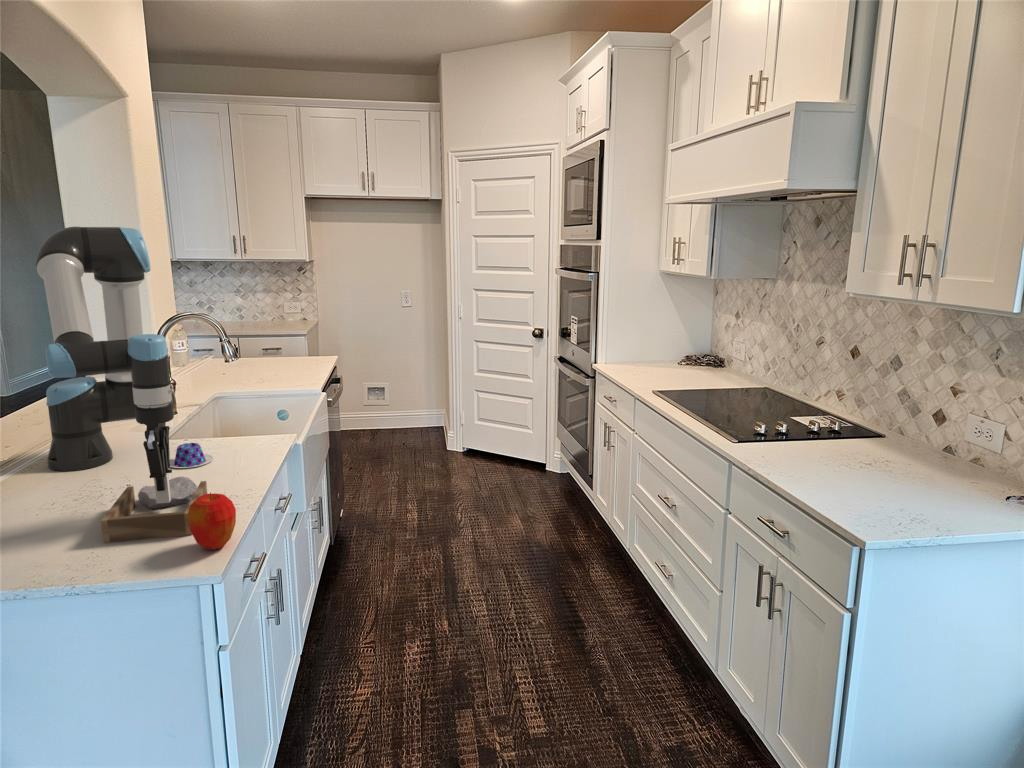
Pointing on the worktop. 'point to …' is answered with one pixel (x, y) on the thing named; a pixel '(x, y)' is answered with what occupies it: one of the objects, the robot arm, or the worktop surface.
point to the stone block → (179, 492)
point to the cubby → (144, 520)
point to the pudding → (189, 456)
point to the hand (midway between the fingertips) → (163, 501)
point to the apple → (212, 520)
